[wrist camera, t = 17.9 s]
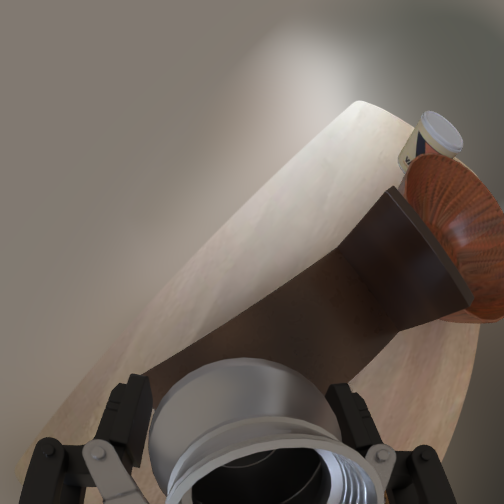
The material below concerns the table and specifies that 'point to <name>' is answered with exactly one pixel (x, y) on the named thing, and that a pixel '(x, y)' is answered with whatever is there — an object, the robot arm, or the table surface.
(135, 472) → the table surface
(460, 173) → the bowl
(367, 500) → the plastic bottle
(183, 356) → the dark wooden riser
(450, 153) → the coffee cup
